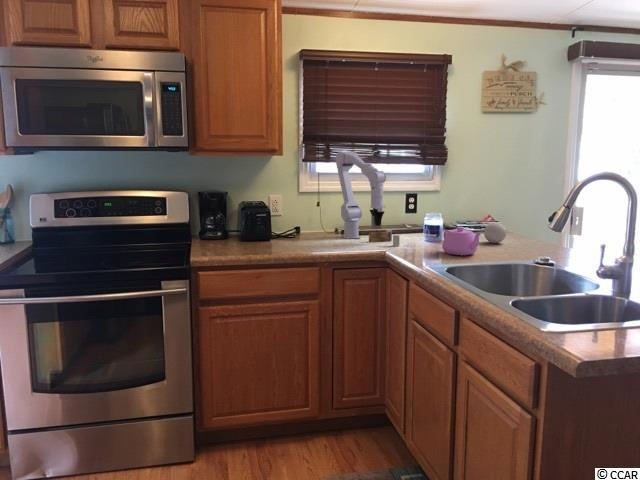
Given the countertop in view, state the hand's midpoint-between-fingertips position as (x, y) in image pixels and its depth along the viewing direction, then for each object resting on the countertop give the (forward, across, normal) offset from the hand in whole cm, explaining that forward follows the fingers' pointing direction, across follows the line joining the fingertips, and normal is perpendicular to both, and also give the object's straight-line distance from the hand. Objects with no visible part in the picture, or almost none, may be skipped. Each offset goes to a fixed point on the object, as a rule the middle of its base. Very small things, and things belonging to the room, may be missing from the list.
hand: (376, 224), depth 245 cm
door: (+9, +4, -3) cm, 10 cm away
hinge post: (+9, +6, -8) cm, 13 cm away
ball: (+9, -9, -56) cm, 57 cm away
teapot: (+9, -31, -31) cm, 44 cm away
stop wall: (+9, -8, -8) cm, 14 cm away
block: (+2, 0, 0) cm, 2 cm away
